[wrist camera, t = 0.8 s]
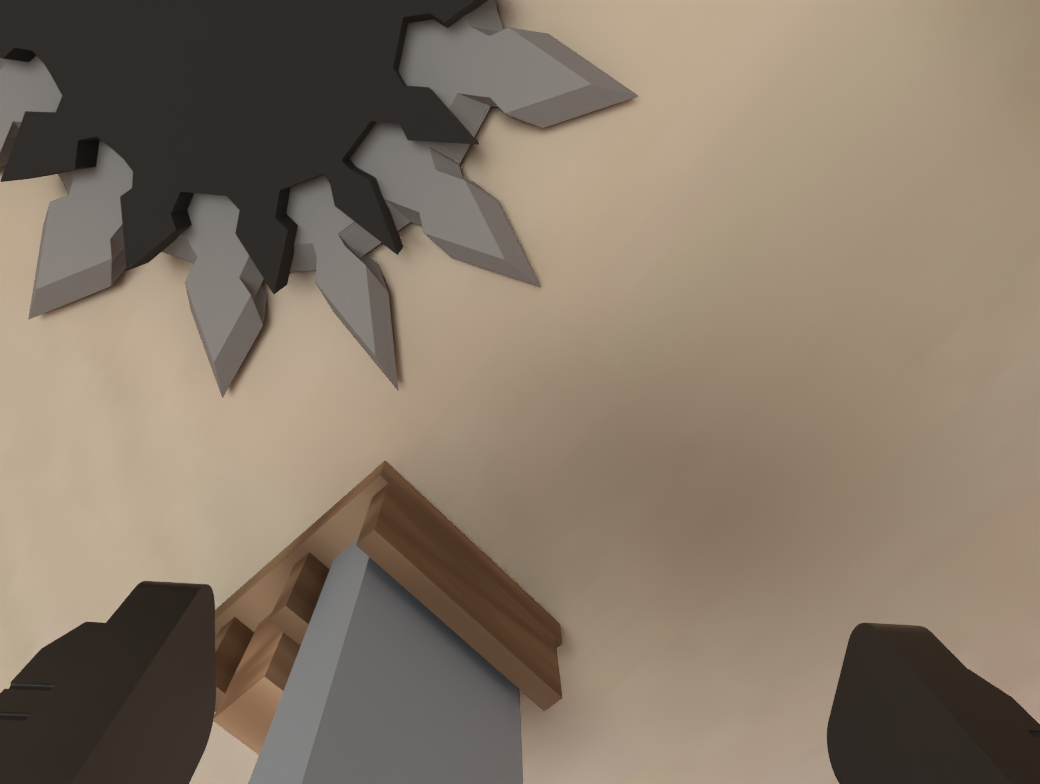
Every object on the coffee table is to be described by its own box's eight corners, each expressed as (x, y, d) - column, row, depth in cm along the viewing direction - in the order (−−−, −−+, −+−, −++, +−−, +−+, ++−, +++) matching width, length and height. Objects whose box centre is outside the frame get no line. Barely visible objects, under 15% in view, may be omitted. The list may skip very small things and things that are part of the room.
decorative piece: (-530, -374, 21) (487, -869, 18) (-375, -298, 25) (489, -702, 22) (46, 529, 31) (763, 286, 28) (95, 486, 34) (732, 268, 32)
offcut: (302, 585, 34) (264, 676, 28) (366, 639, 35) (341, 737, 30) (258, 623, 35) (212, 720, 29) (322, 675, 36) (289, 777, 30)
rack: (385, 460, 34) (364, 521, 29) (559, 624, 37) (570, 704, 32) (209, 615, 36) (161, 696, 31) (387, 756, 39) (370, 851, 34)
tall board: (380, 519, 33) (293, 810, 19) (517, 642, 35) (530, 983, 21) (333, 559, 34) (215, 870, 20) (471, 678, 36) (454, 1033, 22)
